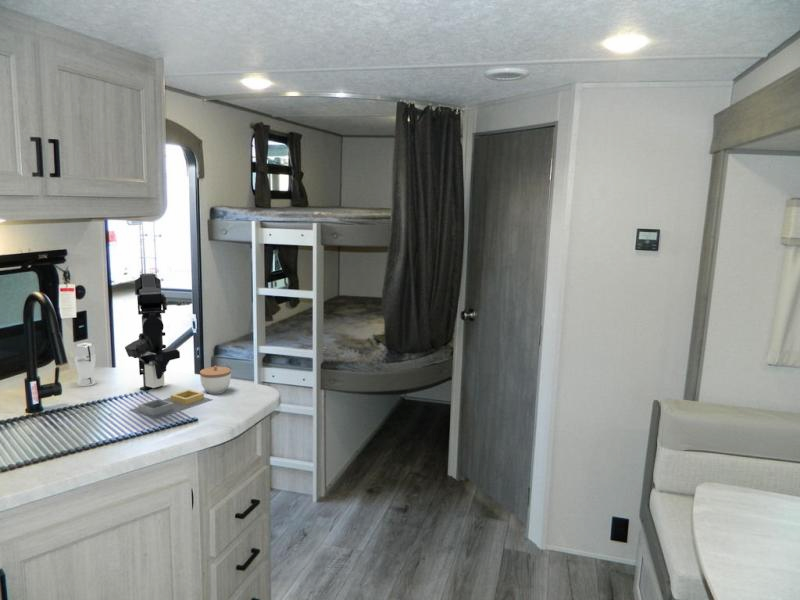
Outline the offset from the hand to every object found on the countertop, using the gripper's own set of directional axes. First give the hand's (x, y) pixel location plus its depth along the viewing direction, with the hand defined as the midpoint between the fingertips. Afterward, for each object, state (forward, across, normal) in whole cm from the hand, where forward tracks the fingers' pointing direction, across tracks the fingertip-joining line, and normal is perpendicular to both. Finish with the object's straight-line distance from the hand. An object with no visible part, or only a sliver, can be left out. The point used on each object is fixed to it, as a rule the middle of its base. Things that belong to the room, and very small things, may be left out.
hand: (154, 377), depth 181 cm
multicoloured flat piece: (+12, 0, +6) cm, 13 cm away
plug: (+2, 0, 0) cm, 2 cm away
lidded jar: (+12, -2, +26) cm, 29 cm away
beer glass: (+12, -48, +5) cm, 50 cm away
